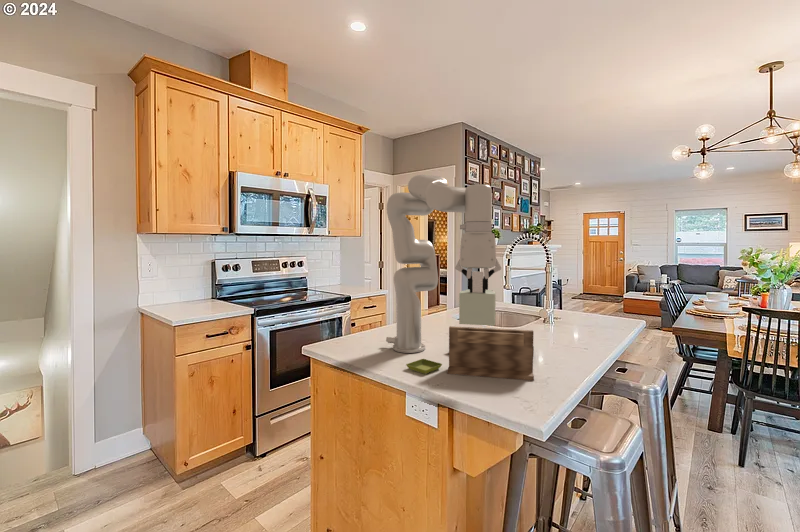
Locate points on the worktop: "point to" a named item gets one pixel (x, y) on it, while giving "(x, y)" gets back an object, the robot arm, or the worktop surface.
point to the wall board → (491, 352)
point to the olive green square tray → (424, 366)
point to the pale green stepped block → (477, 304)
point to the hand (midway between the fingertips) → (477, 291)
